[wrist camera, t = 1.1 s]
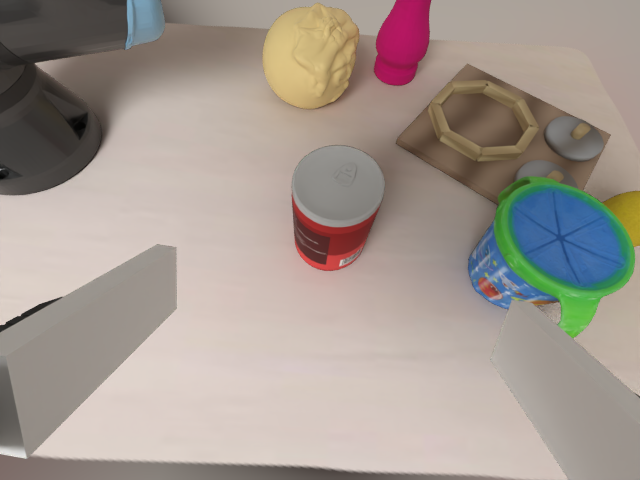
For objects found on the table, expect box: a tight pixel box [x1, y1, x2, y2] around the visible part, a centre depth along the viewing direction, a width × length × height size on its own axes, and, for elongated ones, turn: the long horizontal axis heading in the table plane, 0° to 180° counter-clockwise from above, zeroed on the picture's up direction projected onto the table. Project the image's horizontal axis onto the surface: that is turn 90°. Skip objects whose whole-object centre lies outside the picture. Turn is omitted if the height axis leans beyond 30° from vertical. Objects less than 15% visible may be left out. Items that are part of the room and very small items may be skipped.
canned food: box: [292, 145, 385, 271], centre depth 31 cm, size 8×8×11 cm
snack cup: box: [468, 176, 635, 338], centre depth 30 cm, size 16×10×10 cm
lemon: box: [603, 191, 640, 247], centre depth 34 cm, size 6×6×8 cm
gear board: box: [396, 64, 610, 205], centre depth 42 cm, size 22×20×4 cm
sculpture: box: [263, 3, 359, 109], centre depth 41 cm, size 12×12×11 cm
